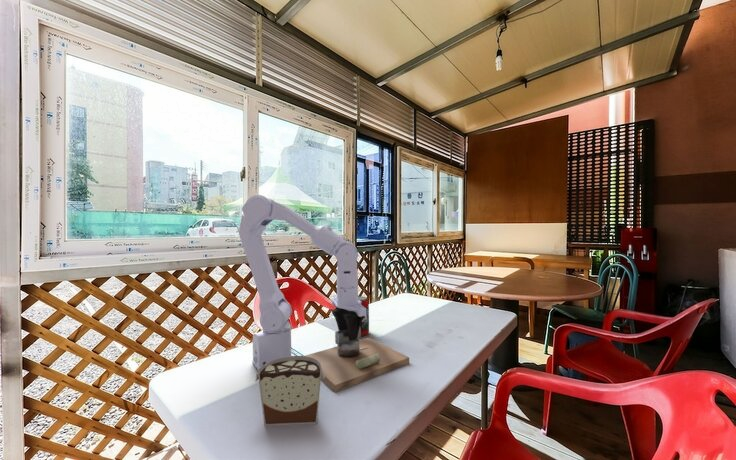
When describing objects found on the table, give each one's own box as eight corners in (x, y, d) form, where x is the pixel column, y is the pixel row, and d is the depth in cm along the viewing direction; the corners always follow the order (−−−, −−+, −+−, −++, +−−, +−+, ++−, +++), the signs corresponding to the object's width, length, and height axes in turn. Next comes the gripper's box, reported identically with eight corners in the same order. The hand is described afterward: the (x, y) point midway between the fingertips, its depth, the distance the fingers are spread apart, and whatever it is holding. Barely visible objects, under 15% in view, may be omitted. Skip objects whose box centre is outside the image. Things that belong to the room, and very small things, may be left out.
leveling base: (335, 392, 62) (334, 375, 62) (301, 362, 77) (301, 349, 77) (409, 363, 75) (409, 349, 75) (368, 342, 90) (368, 331, 90)
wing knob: (343, 359, 74) (342, 335, 74) (331, 351, 79) (331, 329, 79) (365, 352, 78) (365, 329, 78) (353, 345, 83) (352, 323, 83)
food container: (328, 403, 59) (327, 353, 59) (325, 423, 52) (324, 367, 52) (266, 405, 58) (265, 355, 58) (255, 426, 52) (255, 370, 52)
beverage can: (369, 337, 94) (368, 300, 94) (348, 337, 94) (347, 300, 94) (369, 330, 101) (368, 295, 101) (349, 330, 101) (349, 295, 101)
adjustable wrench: (272, 343, 89) (288, 338, 93) (272, 346, 89) (288, 342, 93) (293, 357, 79) (310, 352, 82) (294, 361, 79) (310, 355, 82)
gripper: (375, 288, 75) (376, 341, 75) (345, 281, 87) (346, 326, 87) (352, 292, 71) (353, 348, 71) (324, 284, 83) (325, 332, 83)
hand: (348, 336), depth 79 cm, fingers open, 4 cm apart
